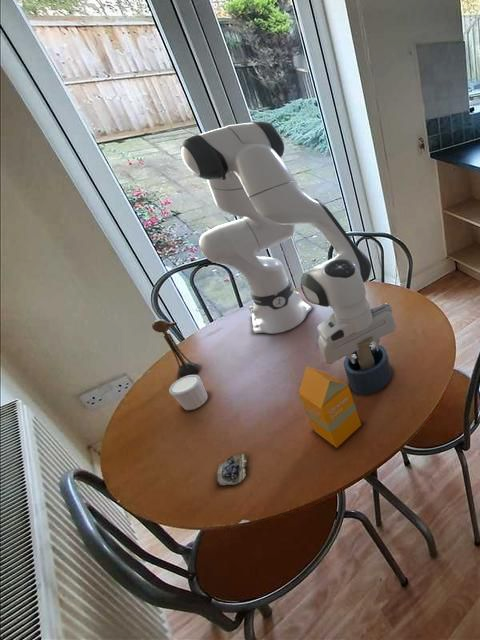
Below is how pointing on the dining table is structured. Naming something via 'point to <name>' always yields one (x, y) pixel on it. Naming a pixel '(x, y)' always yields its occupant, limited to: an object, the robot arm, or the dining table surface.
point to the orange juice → (329, 406)
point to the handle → (365, 355)
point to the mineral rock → (232, 470)
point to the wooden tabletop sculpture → (185, 367)
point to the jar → (369, 373)
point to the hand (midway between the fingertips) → (365, 356)
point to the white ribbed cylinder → (189, 392)
